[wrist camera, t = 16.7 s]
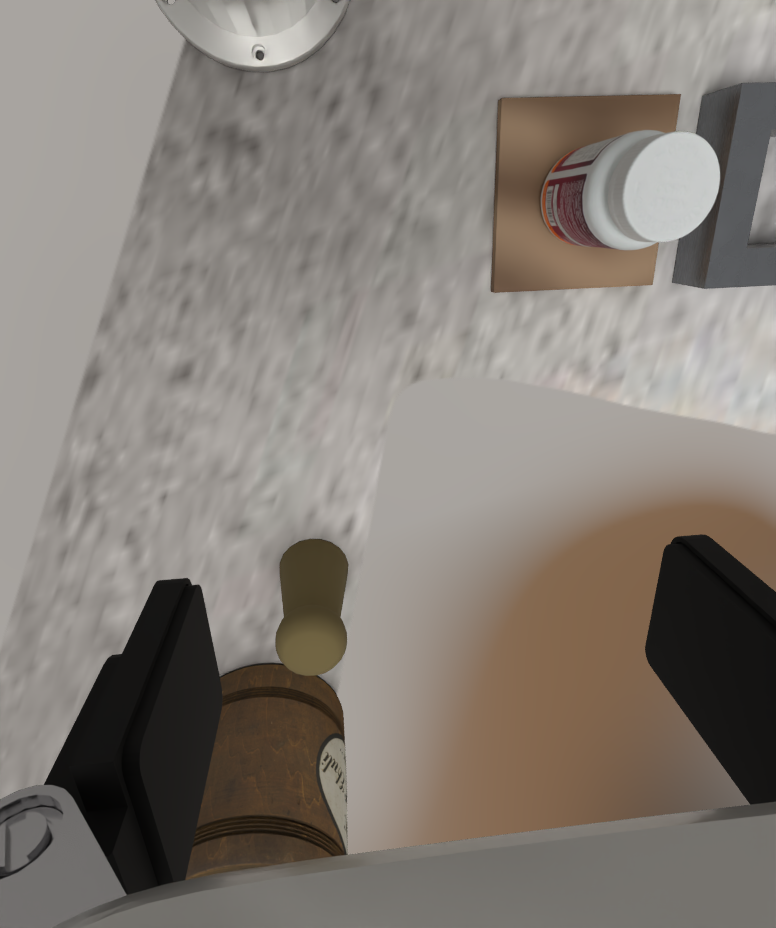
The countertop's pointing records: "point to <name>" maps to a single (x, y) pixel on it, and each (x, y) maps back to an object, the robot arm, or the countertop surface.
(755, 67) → the countertop surface
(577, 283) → the brown pad
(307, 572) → the cork
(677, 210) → the pill bottle
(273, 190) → the countertop surface
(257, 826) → the wooden container
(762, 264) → the metal collar
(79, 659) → the countertop surface
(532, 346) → the countertop surface
